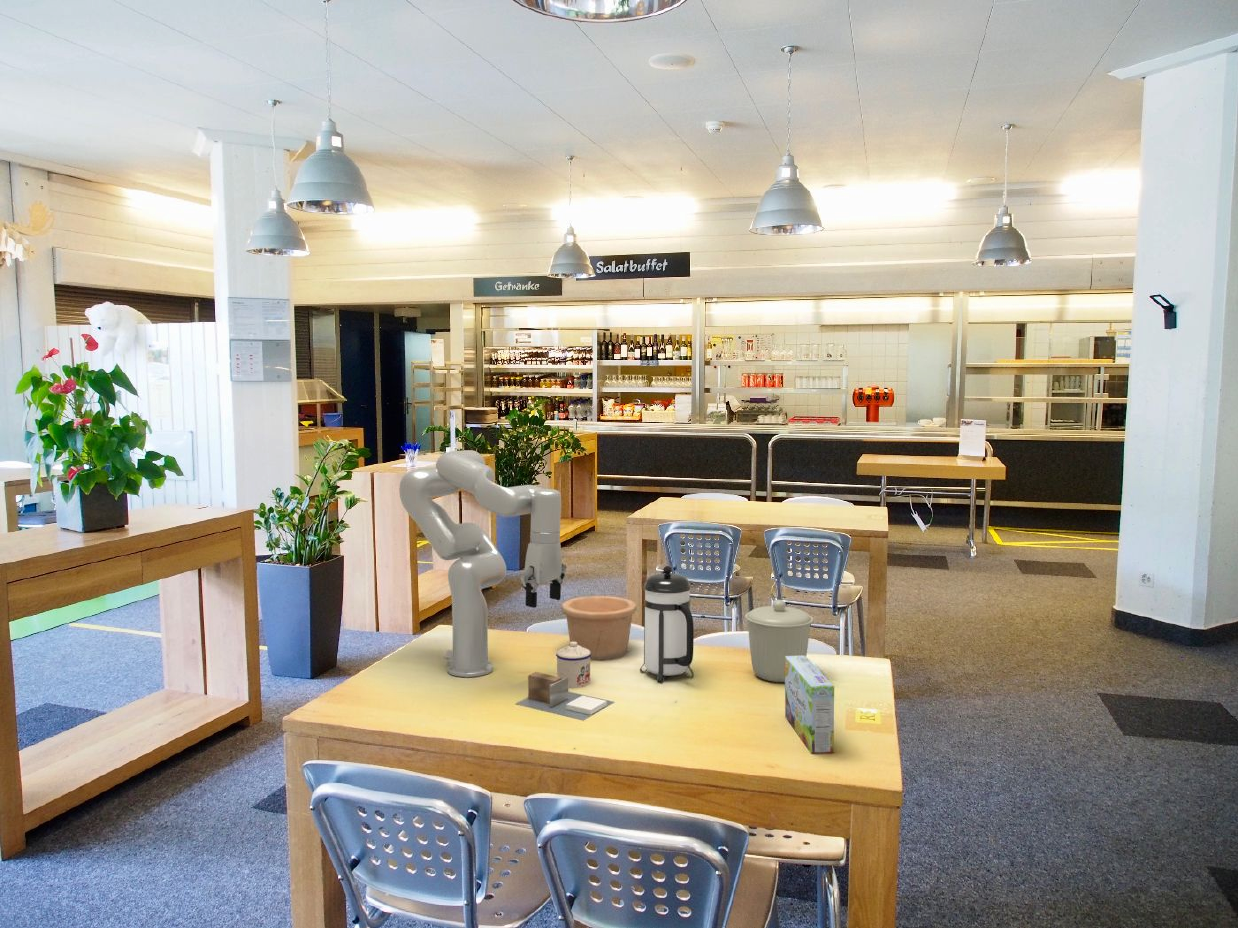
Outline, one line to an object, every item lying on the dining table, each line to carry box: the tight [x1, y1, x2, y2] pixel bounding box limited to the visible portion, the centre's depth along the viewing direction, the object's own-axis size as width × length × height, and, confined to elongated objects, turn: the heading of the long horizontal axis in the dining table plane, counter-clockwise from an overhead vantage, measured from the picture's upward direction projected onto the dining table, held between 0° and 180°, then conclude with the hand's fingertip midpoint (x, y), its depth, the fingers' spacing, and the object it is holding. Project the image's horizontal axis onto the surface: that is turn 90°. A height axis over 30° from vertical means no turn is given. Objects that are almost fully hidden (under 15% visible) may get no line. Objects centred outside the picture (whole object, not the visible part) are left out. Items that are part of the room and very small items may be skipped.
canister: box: [744, 599, 814, 683], centre depth 232 cm, size 18×18×21 cm
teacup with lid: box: [555, 641, 591, 689], centre depth 226 cm, size 12×9×12 cm
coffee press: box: [639, 565, 695, 684], centre depth 232 cm, size 17×16×30 cm
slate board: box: [515, 691, 615, 721], centre depth 210 cm, size 20×14×1 cm
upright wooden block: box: [527, 671, 569, 707], centre depth 211 cm, size 8×7×6 cm
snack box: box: [784, 655, 835, 755], centre depth 193 cm, size 21×6×15 cm, turn 5°
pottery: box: [561, 595, 638, 661], centre depth 254 cm, size 22×22×14 cm
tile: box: [566, 695, 607, 716], centre depth 206 cm, size 1×7×7 cm
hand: (543, 602), depth 221 cm, fingers open, 9 cm apart
